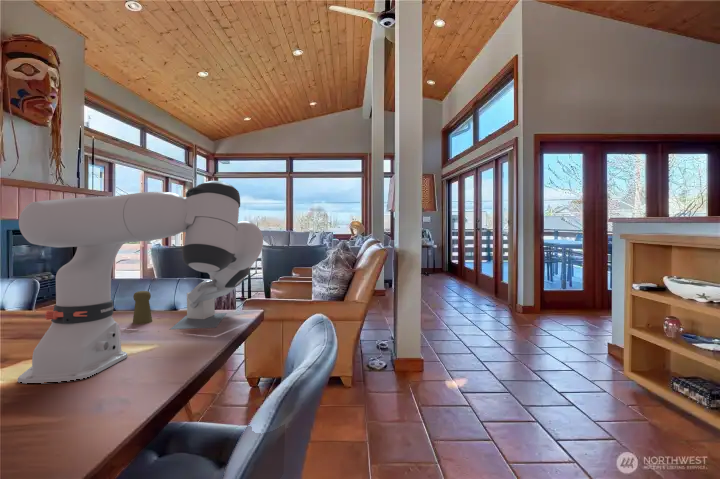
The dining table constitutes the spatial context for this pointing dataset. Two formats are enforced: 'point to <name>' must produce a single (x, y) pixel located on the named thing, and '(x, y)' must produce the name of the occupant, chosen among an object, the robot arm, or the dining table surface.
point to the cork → (142, 308)
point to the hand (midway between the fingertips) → (199, 304)
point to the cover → (201, 309)
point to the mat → (199, 322)
